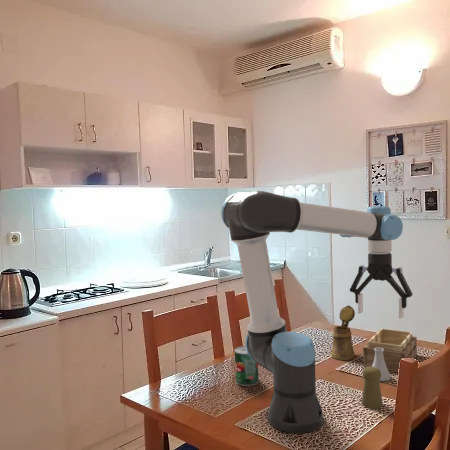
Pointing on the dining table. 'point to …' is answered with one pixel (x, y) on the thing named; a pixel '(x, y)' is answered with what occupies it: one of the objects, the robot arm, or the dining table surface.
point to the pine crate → (390, 340)
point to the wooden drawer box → (391, 355)
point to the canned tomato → (245, 368)
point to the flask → (381, 364)
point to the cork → (372, 388)
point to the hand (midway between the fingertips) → (380, 315)
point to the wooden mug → (343, 336)
